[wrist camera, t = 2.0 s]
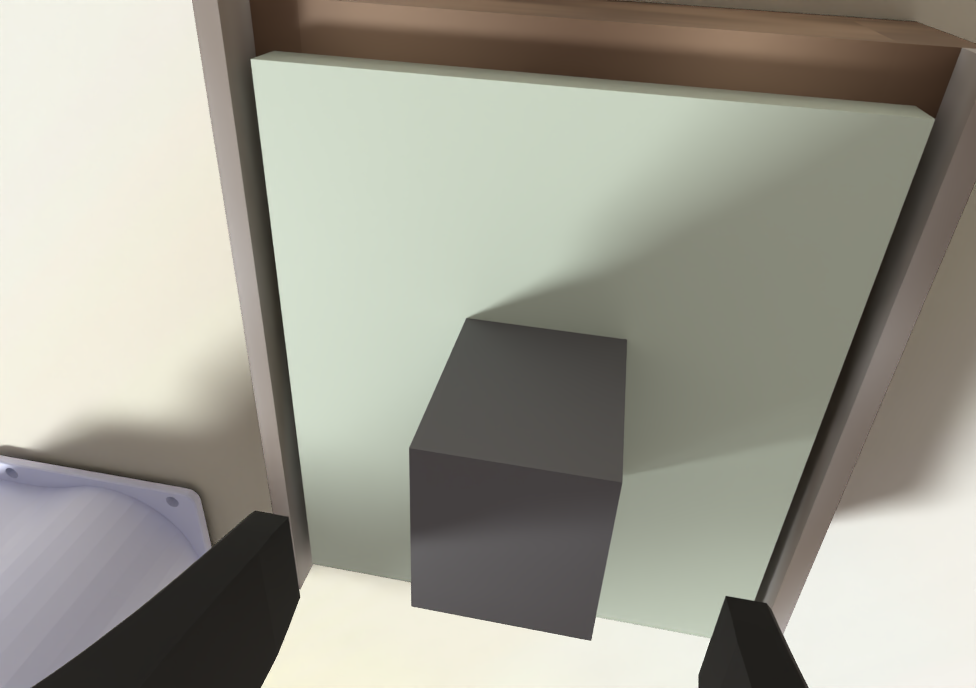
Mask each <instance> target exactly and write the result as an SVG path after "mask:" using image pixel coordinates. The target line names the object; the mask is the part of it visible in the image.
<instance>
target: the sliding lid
mask: <svg viewBox="0 0 976 688" xmlns="http://www.w3.org/2000/svg"><path fill="white" fill-rule="evenodd" d="M251 67H252V75H253V84H254V92H255V100H256V108H257V116H258V124H259V132H260V140H261V148H262V157H263V165H264V173H265V181H266V189H267V197H268V205H269V213H270V222H271V230H272V238H273V246H274V254H275V262H276V270H277V278H278V287H279V295H280V303H281V311H282V319H283V327H284V335H285V343H286V352H287V360H288V368H289V376H290V384H291V392H292V400H293V408H294V417H295V425H296V433H297V441H298V449H299V457H300V465H301V473H302V482H303V490H304V498H305V506H306V514H307V522H308V530H309V538H310V547H311V555H312V563H313V564H316V565H321V566H327V567H332V568H337V569H343V570H348V571H353V572H359V573H364V574H369V575H375V576H380V577H386V578H391V579H396V580H402V581H407V582H411V606H413V607H418V608H423V609H428V610H433V611H439V612H444V613H449V614H454V615H460V616H465V617H470V618H475V619H480V620H486V621H491V622H496V623H501V624H506V625H512V626H517V627H522V628H527V629H532V630H538V631H543V632H548V633H553V634H558V635H564V636H569V637H574V638H579V639H585V640H590V641H591V638H592V633H593V628H594V623H595V618H596V617H599V618H604V619H610V620H615V621H620V622H626V623H631V624H636V625H642V626H647V627H652V628H658V629H663V630H668V631H674V632H679V633H684V634H690V635H695V636H700V637H706V638H711V637H712V634H713V631H714V628H715V626H716V623H717V620H718V617H719V614H720V611H721V608H722V605H723V602H724V599H725V596H730V597H736V598H741V599H747V600H752V601H754V600H755V598H756V595H757V592H758V590H759V587H760V584H761V582H762V579H763V576H764V574H765V571H766V568H767V566H768V563H769V560H770V558H771V555H772V552H773V550H774V547H775V544H776V542H777V539H778V536H779V534H780V531H781V528H782V526H783V523H784V520H785V518H786V515H787V512H788V510H789V507H790V504H791V502H792V499H793V496H794V494H795V491H796V488H797V486H798V483H799V481H800V478H801V475H802V473H803V470H804V467H805V465H806V462H807V459H808V457H809V454H810V451H811V449H812V446H813V443H814V441H815V438H816V435H817V433H818V430H819V427H820V425H821V422H822V419H823V417H824V414H825V411H826V409H827V406H828V403H829V401H830V398H831V395H832V393H833V390H834V387H835V385H836V382H837V379H838V377H839V374H840V371H841V369H842V366H843V363H844V361H845V358H846V355H847V353H848V350H849V347H850V345H851V342H852V340H853V337H854V334H855V332H856V329H857V326H858V324H859V321H860V318H861V316H862V313H863V310H864V308H865V305H866V302H867V300H868V297H869V294H870V292H871V289H872V286H873V284H874V281H875V278H876V276H877V273H878V270H879V268H880V265H881V262H882V260H883V257H884V254H885V252H886V249H887V246H888V244H889V241H890V238H891V236H892V233H893V230H894V228H895V225H896V222H897V220H898V217H899V214H900V212H901V209H902V206H903V204H904V201H905V199H906V196H907V193H908V191H909V188H910V185H911V183H912V180H913V177H914V175H915V172H916V169H917V167H918V164H919V161H920V159H921V156H922V153H923V151H924V148H925V145H926V143H927V140H928V137H929V135H930V132H931V129H932V127H933V124H934V121H935V119H934V118H933V117H931V116H930V115H928V114H927V113H925V112H924V111H922V110H921V109H919V108H918V107H916V106H911V105H899V104H888V103H876V102H864V101H853V100H841V99H830V98H818V97H806V96H795V95H783V94H771V93H760V92H748V91H736V90H725V89H713V88H701V87H690V86H678V85H666V84H655V83H643V82H631V81H620V80H608V79H596V78H585V77H573V76H562V75H550V74H538V73H527V72H515V71H503V70H492V69H480V68H468V67H457V66H445V65H433V64H422V63H410V62H398V61H387V60H375V59H363V58H352V57H340V56H328V55H317V54H305V53H294V52H282V51H272V52H269V53H266V54H263V55H260V56H258V57H255V58H252V59H251Z"/></svg>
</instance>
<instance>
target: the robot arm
mask: <svg viewBox="0 0 976 688" xmlns="http://www.w3.org/2000/svg"><path fill="white" fill-rule="evenodd" d="M299 599H300V592H299V585H298V578H297V571H296V564H295V557H294V551H293V544H292V537H291V530H290V523H289V517H287V516H282V515H276V514H271V513H265V512H260V511H254V512H253V513H251V514H250V515H249V516H247V517H246V518H245V519H244V520H243V521H242V522H240V523H239V524H238V525H237V526H236V527H235V528H233V529H232V530H231V531H230V532H229V533H228V534H227V535H225V536H224V537H223V538H222V539H221V540H220V541H219V542H217V543H216V544H215V545H214V546H213V547H212V546H211V542H210V538H209V533H208V529H207V525H206V520H205V516H204V512H203V507H202V503H201V499H200V497H199V495H198V494H197V493H196V492H195V491H193V490H191V489H188V488H182V487H177V486H171V485H165V484H160V483H154V482H148V481H143V480H137V479H131V478H126V477H120V476H114V475H109V474H103V473H97V472H92V471H86V470H80V469H75V468H69V467H64V466H58V465H52V464H47V463H41V462H35V461H30V460H24V459H18V458H13V457H7V456H1V455H0V688H261V686H262V684H263V682H264V680H265V679H266V677H267V675H268V673H269V671H270V669H271V667H272V665H273V663H274V661H275V659H276V657H277V655H278V653H279V650H280V648H281V645H282V643H283V640H284V638H285V635H286V633H287V630H288V628H289V625H290V622H291V620H292V617H293V615H294V612H295V609H296V607H297V604H298V601H299ZM699 688H808V686H807V684H806V682H805V680H804V678H803V676H802V674H801V672H800V670H799V668H798V665H797V663H796V661H795V659H794V657H793V655H792V653H791V651H790V649H789V647H788V645H787V642H786V640H785V638H784V636H783V634H782V632H781V629H780V627H779V625H778V623H777V621H776V618H775V616H774V614H773V611H772V609H771V608H770V607H769V606H768V604H767V603H763V602H758V601H752V600H747V599H741V598H736V597H730V596H725V599H724V602H723V605H722V608H721V611H720V614H719V617H718V620H717V623H716V626H715V628H714V631H713V634H712V637H711V640H710V643H709V646H708V649H707V652H706V655H705V658H704V661H703V663H702V666H701V669H700V672H699Z"/></svg>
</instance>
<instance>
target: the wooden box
mask: <svg viewBox="0 0 976 688" xmlns="http://www.w3.org/2000/svg"><path fill="white" fill-rule="evenodd" d="M192 3H193V10H194V16H195V22H196V29H197V35H198V41H199V48H200V54H201V60H202V67H203V73H204V79H205V86H206V92H207V98H208V105H209V111H210V117H211V124H212V130H213V136H214V143H215V149H216V155H217V162H218V168H219V174H220V181H221V187H222V193H223V200H224V206H225V212H226V219H227V225H228V231H229V238H230V244H231V250H232V257H233V263H234V269H235V276H236V282H237V288H238V295H239V301H240V307H241V314H242V320H243V326H244V333H245V339H246V345H247V352H248V358H249V364H250V371H251V377H252V383H253V390H254V396H255V402H256V409H257V415H258V421H259V428H260V434H261V441H262V447H263V453H264V460H265V466H266V472H267V479H268V485H269V491H270V498H271V504H272V510H273V514H276V515H282V516H287V517H289V523H290V530H291V537H292V544H293V551H294V557H295V564H296V571H297V578H298V585H299V589H301V587H302V585H303V583H304V581H305V579H306V577H307V575H308V573H309V571H310V569H311V567H312V565H313V563H312V555H311V547H310V538H309V530H308V522H307V514H306V506H305V498H304V490H303V482H302V473H301V465H300V457H299V449H298V441H297V433H296V425H295V417H294V408H293V400H292V392H291V384H290V376H289V368H288V360H287V352H286V343H285V335H284V327H283V319H282V311H281V303H280V295H279V287H278V278H277V270H276V262H275V254H274V246H273V238H272V230H271V222H270V213H269V205H268V197H267V189H266V181H265V173H264V165H263V157H262V148H261V140H260V132H259V124H258V116H257V108H256V100H255V92H254V84H253V75H252V67H251V59H252V58H255V57H258V56H260V55H263V54H266V53H269V52H272V51H282V52H294V53H305V54H317V55H328V56H340V57H352V58H363V59H375V60H387V61H398V62H410V63H422V64H433V65H445V66H457V67H468V68H480V69H492V70H503V71H515V72H527V73H538V74H550V75H562V76H573V77H585V78H596V79H608V80H620V81H631V82H643V83H655V84H666V85H678V86H690V87H701V88H713V89H725V90H736V91H748V92H760V93H771V94H783V95H795V96H806V97H818V98H830V99H841V100H853V101H864V102H876V103H888V104H899V105H911V106H916V107H918V108H919V109H921V110H922V111H924V112H925V113H927V114H928V115H930V116H931V117H933V118H934V119H935V121H934V124H933V127H932V129H931V132H930V135H929V137H928V140H927V143H926V145H925V148H924V151H923V153H922V156H921V159H920V161H919V164H918V167H917V169H916V172H915V175H914V177H913V180H912V183H911V185H910V188H909V191H908V193H907V196H906V199H905V201H904V204H903V206H902V209H901V212H900V214H899V217H898V220H897V222H896V225H895V228H894V230H893V233H892V236H891V238H890V241H889V244H888V246H887V249H886V252H885V254H884V257H883V260H882V262H881V265H880V268H879V270H878V273H877V276H876V278H875V281H874V284H873V286H872V289H871V292H870V294H869V297H868V300H867V302H866V305H865V308H864V310H863V313H862V316H861V318H860V321H859V324H858V326H857V329H856V332H855V334H854V337H853V340H852V342H851V345H850V347H849V350H848V353H847V355H846V358H845V361H844V363H843V366H842V369H841V371H840V374H839V377H838V379H837V382H836V385H835V387H834V390H833V393H832V395H831V398H830V401H829V403H828V406H827V409H826V411H825V414H824V417H823V419H822V422H821V425H820V427H819V430H818V433H817V435H816V438H815V441H814V443H813V446H812V449H811V451H810V454H809V457H808V459H807V462H806V465H805V467H804V470H803V473H802V475H801V478H800V481H799V483H798V486H797V488H796V491H795V494H794V496H793V499H792V502H791V504H790V507H789V510H788V512H787V515H786V518H785V520H784V523H783V526H782V528H781V531H780V534H779V536H778V539H777V542H776V544H775V547H774V550H773V552H772V555H771V558H770V560H769V563H768V566H767V568H766V571H765V574H764V576H763V579H762V582H761V584H760V587H759V590H758V592H757V595H756V598H755V600H754V601H758V602H763V603H767V604H768V606H769V607H770V608H771V609H772V611H773V614H774V616H775V618H776V621H777V623H778V625H779V627H780V629H781V632H782V634H783V633H784V631H785V629H786V626H787V624H788V622H789V619H790V617H791V615H792V612H793V610H794V608H795V605H796V603H797V600H798V598H799V596H800V593H801V591H802V589H803V586H804V584H805V582H806V579H807V577H808V575H809V572H810V570H811V568H812V565H813V563H814V560H815V558H816V556H817V553H818V551H819V549H820V546H821V544H822V542H823V539H824V537H825V535H826V532H827V530H828V528H829V525H830V523H831V520H832V518H833V516H834V513H835V511H836V509H837V506H838V504H839V502H840V499H841V497H842V495H843V492H844V490H845V488H846V485H847V483H848V480H849V478H850V476H851V473H852V471H853V469H854V466H855V464H856V462H857V459H858V457H859V455H860V452H861V450H862V448H863V445H864V443H865V440H866V438H867V436H868V433H869V431H870V429H871V426H872V424H873V422H874V419H875V417H876V415H877V412H878V410H879V408H880V405H881V403H882V400H883V398H884V396H885V393H886V391H887V389H888V386H889V384H890V382H891V379H892V377H893V375H894V372H895V370H896V368H897V365H898V363H899V360H900V358H901V356H902V353H903V351H904V349H905V346H906V344H907V342H908V339H909V337H910V335H911V332H912V330H913V328H914V325H915V323H916V320H917V318H918V316H919V313H920V311H921V309H922V306H923V304H924V302H925V299H926V297H927V295H928V292H929V290H930V288H931V285H932V283H933V280H934V278H935V276H936V273H937V271H938V269H939V266H940V264H941V262H942V259H943V257H944V255H945V252H946V250H947V248H948V245H949V243H950V241H951V238H952V236H953V233H954V231H955V229H956V226H957V224H958V222H959V219H960V217H961V215H962V212H963V210H964V208H965V205H966V203H967V201H968V198H969V196H970V193H971V191H972V189H973V186H974V184H975V182H976V43H973V42H970V41H967V40H965V39H962V38H959V37H956V36H954V35H951V34H948V33H946V32H943V31H940V30H937V29H935V28H932V27H929V26H926V25H924V24H921V23H918V22H915V21H901V20H887V19H873V18H859V17H844V16H830V15H816V14H802V13H788V12H774V11H760V10H746V9H732V8H717V7H703V6H689V5H675V4H661V3H647V2H633V1H619V0H192Z"/></svg>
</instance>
